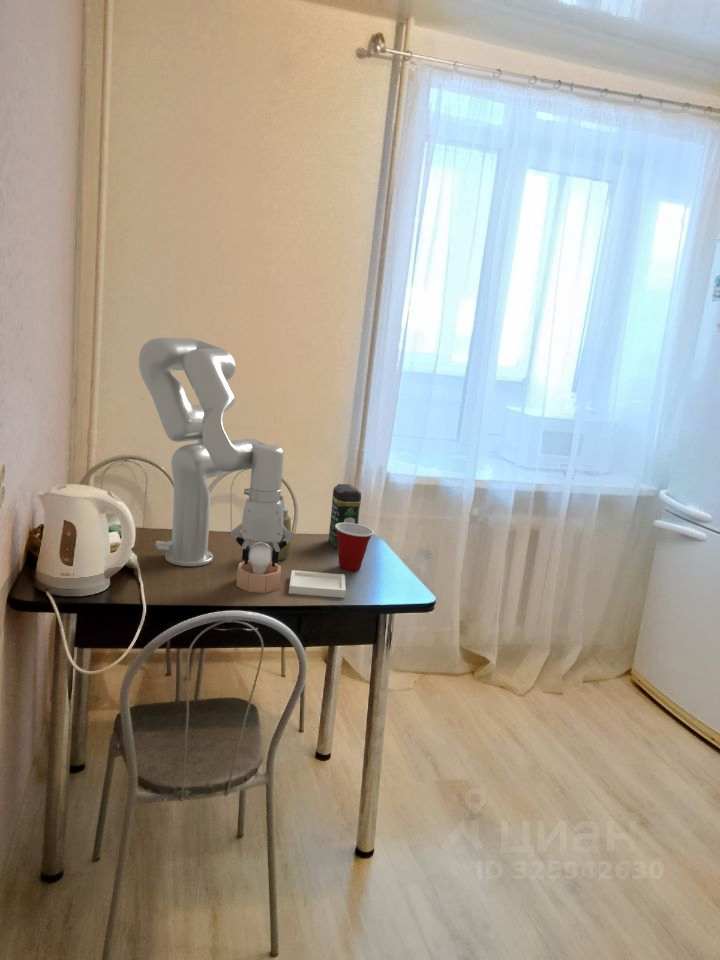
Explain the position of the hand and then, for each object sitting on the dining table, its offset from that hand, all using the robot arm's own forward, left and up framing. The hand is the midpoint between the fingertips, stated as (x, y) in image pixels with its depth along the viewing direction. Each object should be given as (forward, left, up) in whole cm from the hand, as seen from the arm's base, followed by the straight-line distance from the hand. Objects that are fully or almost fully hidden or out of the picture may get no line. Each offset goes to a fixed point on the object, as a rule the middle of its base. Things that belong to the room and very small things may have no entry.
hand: (260, 563), depth 182 cm
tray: (+15, +1, -6) cm, 16 cm away
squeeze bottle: (+3, +21, -6) cm, 22 cm away
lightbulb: (0, 0, -6) cm, 6 cm away
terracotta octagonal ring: (0, 0, -6) cm, 6 cm away
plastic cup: (+24, +17, -6) cm, 30 cm away
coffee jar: (+22, +37, -6) cm, 43 cm away
